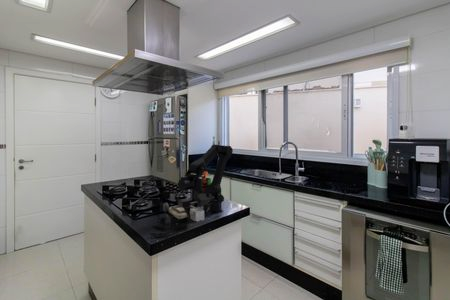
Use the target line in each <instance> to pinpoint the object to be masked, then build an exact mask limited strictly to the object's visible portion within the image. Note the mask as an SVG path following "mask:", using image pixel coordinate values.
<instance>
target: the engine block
mask: <svg viewBox="0 0 450 300" xmlns="http://www.w3.org/2000/svg"><path fill="white" fill-rule="evenodd" d="M190 219H191V221H194V222H195V221H197V222H200V220H201V221H204V220H205V215H204V210H203V208H201V207H199V206H198V207H195V208H194V209H190Z"/></svg>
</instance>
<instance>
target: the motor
mask: <svg viewBox="0 0 450 300" xmlns="http://www.w3.org/2000/svg"><path fill="white" fill-rule="evenodd" d="M208 174H209V172H208V171H204V173H203V175H204V176H205V178H202V189H203V190H204V194H205V193H206V191H205V190H206V188H207V185H208V184H209V185H210V184H211V183H212V178H210V177H207V176H208ZM196 204H198V205H199V203H198V202H197V203H196Z"/></svg>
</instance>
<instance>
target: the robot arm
mask: <svg viewBox="0 0 450 300" xmlns="http://www.w3.org/2000/svg"><path fill="white" fill-rule="evenodd" d="M232 154H233V147H232V146H231V145H220V144H212V145H211V146H210V148H209V149H208V150H207V151H205V152H204V154H203V155H202V156H201V157H200V158H198V159H196V160H194V161H193V162H191V163H190V164H189V165H188V169H187V171H186V173H185V174H184V176H180V179H179V180H178V183H177V188H178V190H179V191H180V192H186V191H190V193H191V194H190V195H191V196H190V197H189V199H191V200H188V199H187V198H182V199H179V200H178V202H177V204H178V205H179V206H180V207H182V208H184V210H185V212H186V214H187V216H188V217H187V219H188V220H190V219H191V218H190V208H191V207H189V206H190V204H192V203H194V204H198V203H199V204H198V205H199V206H202V207H203V208H202V209H203V210H204V216H207V213H208V212H209V213H211V214H214V215H215V214H219V213H222V212H224V210H223V209H222V203H223V202H224V200H225V196H224V195H223V194H222V187H221V183H222V179H223V175H224V172H225V169H226V165H227V162H228V161H229V160H230V159H231V157H232ZM216 155H217V158H218V160H217V163H216V167H215V170H214V173H213V178H212V179H211V184H210V185H209V184H208V185H207V188H206V190H205V191H206V193H205V194H204V190H203V189H202V178H205V176H204V175H203V173H204V172H206V170H207V166H208V164H209V163H210V162H211V161H212V160H213V159H214V158H215V156H216ZM197 202H198V203H197Z"/></svg>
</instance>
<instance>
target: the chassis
mask: <svg viewBox="0 0 450 300" xmlns="http://www.w3.org/2000/svg"><path fill="white" fill-rule="evenodd" d="M187 200H191V199H190V198H188V199H187ZM189 207H191V208H190V209H194V208H196V207H195V203H192V204H190V206H189ZM162 208H163V212H164V213H166V212H168V213H169V214H171V215H172V216H173V217H175V218H176V219H178V220H182V219H184V218H188V216H187V214H186V212H185V210H184V208H182V207H180V206H179V205H173V206H172V205H171V206H170V205H169V203H168V202H164V203H163V204H162Z"/></svg>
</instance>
